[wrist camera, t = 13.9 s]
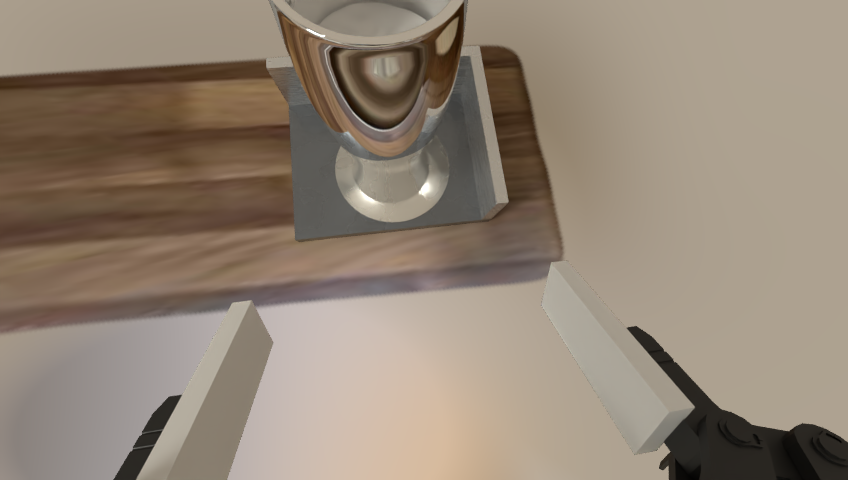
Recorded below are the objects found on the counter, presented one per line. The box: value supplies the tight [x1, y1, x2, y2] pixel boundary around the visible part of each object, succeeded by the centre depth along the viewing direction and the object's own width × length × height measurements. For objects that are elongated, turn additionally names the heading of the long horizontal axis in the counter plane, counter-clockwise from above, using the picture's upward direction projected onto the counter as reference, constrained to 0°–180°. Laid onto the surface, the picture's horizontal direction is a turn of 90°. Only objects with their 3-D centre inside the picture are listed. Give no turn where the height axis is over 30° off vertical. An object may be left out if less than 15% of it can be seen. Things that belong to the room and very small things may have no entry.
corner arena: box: [266, 46, 509, 242], centre depth 22 cm, size 15×12×5 cm
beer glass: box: [269, 0, 468, 204], centre depth 16 cm, size 7×7×15 cm
